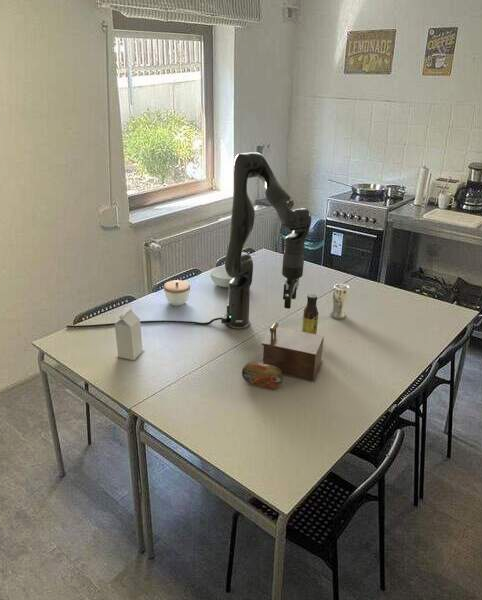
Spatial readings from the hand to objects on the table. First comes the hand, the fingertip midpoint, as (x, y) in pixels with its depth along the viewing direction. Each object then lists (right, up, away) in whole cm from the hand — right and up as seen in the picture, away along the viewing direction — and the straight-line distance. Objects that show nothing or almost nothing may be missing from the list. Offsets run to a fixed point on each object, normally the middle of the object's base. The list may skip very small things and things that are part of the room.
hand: (290, 303), depth 184 cm
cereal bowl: (-25, +9, +73) cm, 78 cm away
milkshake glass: (+27, -6, +43) cm, 51 cm away
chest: (+2, -24, +5) cm, 25 cm away
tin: (-11, -30, -6) cm, 32 cm away
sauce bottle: (+11, -15, +24) cm, 31 cm away
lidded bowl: (-48, 0, +54) cm, 72 cm away
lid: (+1, -14, +1) cm, 15 cm away
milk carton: (-62, -21, +11) cm, 67 cm away
